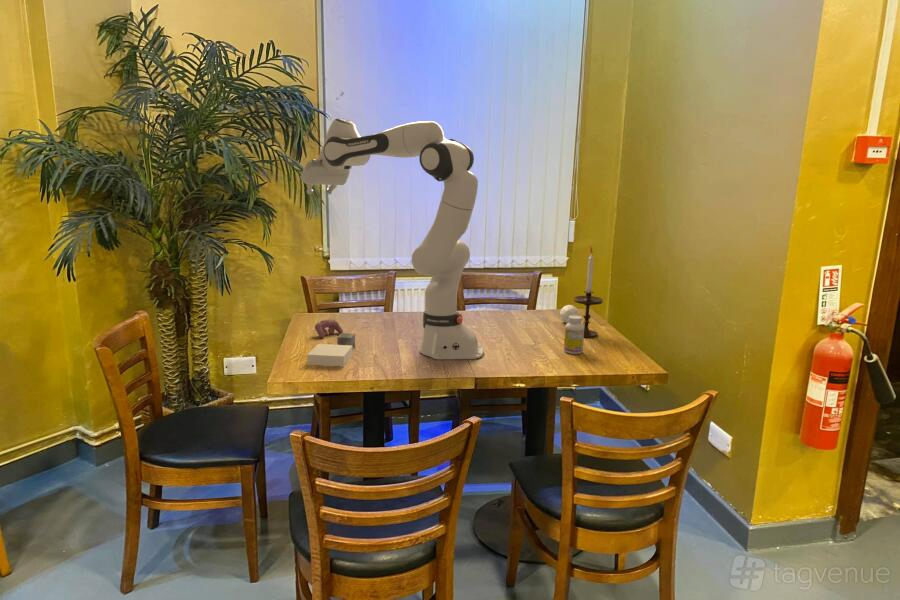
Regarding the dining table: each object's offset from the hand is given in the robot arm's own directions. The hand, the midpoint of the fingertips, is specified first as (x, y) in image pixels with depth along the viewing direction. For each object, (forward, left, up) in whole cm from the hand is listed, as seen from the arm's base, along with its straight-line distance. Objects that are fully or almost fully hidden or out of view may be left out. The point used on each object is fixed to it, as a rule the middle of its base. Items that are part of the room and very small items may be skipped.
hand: (318, 193), depth 240 cm
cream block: (-14, +39, -53) cm, 67 cm away
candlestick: (-103, -6, -52) cm, 116 cm away
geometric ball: (-98, -23, -52) cm, 114 cm away
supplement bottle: (-96, +17, -52) cm, 111 cm away
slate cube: (-16, +26, -52) cm, 61 cm away
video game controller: (-6, +11, -52) cm, 54 cm away
